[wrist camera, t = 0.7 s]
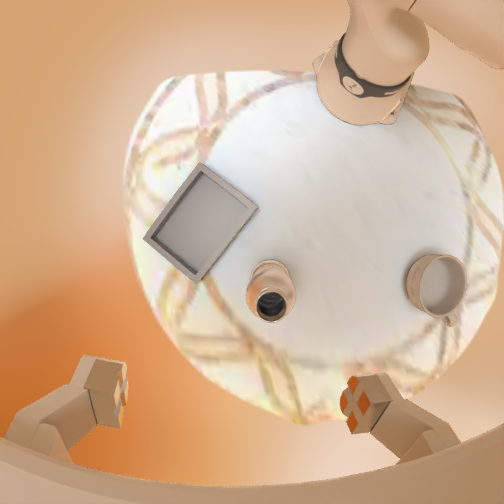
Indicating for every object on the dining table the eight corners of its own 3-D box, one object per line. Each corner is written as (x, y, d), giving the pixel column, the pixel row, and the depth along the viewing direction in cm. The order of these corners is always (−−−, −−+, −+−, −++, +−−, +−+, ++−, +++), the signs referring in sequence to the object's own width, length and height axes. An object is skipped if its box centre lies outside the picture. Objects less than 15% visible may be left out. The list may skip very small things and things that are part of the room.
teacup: (395, 261, 52) (414, 266, 44) (441, 244, 51) (464, 247, 44) (407, 329, 53) (426, 343, 45) (451, 310, 52) (472, 320, 44)
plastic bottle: (249, 295, 54) (240, 333, 34) (252, 256, 53) (243, 274, 33) (286, 297, 54) (297, 337, 34) (290, 259, 53) (303, 278, 33)
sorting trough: (203, 165, 52) (199, 162, 49) (258, 207, 53) (257, 206, 49) (150, 237, 54) (142, 238, 50) (200, 280, 54) (196, 283, 51)
